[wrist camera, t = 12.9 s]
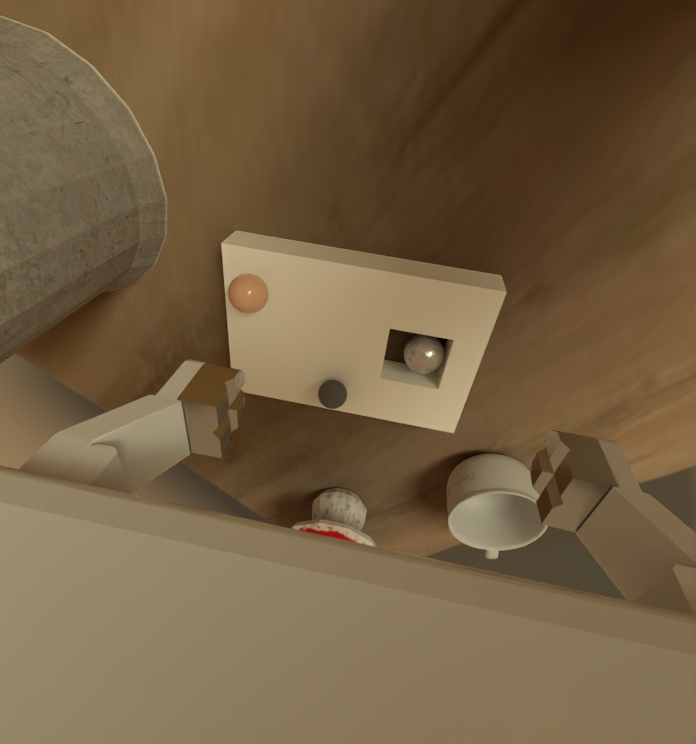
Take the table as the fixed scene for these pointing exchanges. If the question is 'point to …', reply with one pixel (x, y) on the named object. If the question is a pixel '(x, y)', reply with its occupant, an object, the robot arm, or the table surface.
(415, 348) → the steel ball
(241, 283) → the terracotta ball
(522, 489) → the teacup
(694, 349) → the table surface
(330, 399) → the black rubber ball
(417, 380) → the white slab
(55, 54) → the pitcher
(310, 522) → the decorative mushroom
